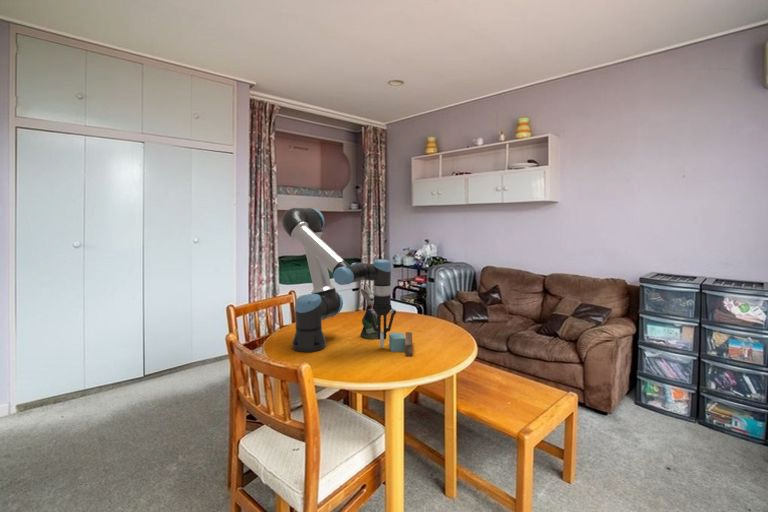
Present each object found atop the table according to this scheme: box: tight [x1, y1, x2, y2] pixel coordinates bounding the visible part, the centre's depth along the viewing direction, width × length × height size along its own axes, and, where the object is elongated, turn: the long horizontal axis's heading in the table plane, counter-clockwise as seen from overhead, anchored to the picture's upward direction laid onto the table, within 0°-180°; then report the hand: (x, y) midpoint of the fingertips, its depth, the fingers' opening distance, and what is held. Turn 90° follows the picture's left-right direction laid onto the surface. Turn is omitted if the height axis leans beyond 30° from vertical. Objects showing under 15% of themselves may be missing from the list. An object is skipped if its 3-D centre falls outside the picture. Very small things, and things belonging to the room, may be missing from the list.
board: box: [404, 331, 413, 357], centre depth 177 cm, size 3×18×5 cm, turn 176°
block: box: [388, 331, 406, 353], centre depth 178 cm, size 6×9×6 cm, turn 7°
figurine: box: [360, 285, 378, 340], centre depth 195 cm, size 11×13×25 cm
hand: (382, 346), depth 178 cm, fingers closed
